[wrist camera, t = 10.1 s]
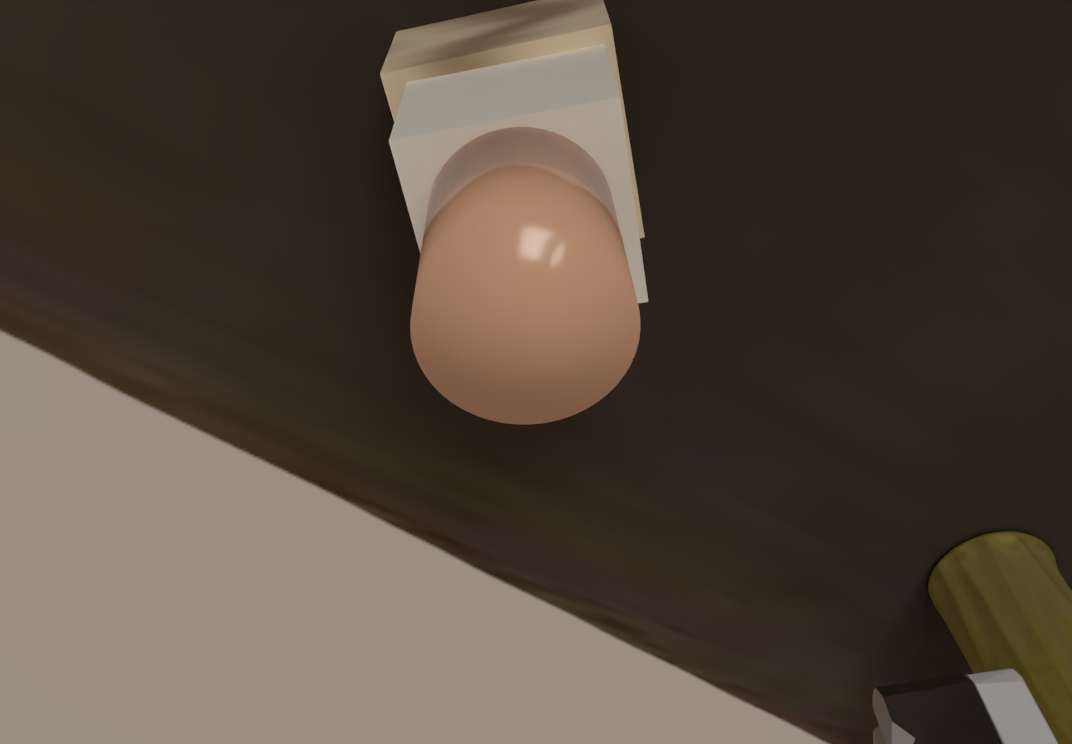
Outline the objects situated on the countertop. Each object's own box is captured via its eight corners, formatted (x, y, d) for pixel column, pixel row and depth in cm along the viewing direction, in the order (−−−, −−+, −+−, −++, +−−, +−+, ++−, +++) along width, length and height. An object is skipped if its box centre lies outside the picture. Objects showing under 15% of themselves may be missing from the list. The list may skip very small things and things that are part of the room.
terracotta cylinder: (601, 111, 24) (626, 208, 19) (623, 283, 27) (651, 406, 22) (408, 145, 25) (384, 248, 20) (449, 311, 27) (438, 439, 22)
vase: (901, 581, 48) (1029, 860, 36) (1003, 508, 45) (1177, 783, 33) (976, 632, 50) (1120, 911, 38) (1077, 565, 48) (1265, 842, 36)
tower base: (598, -14, 32) (611, 23, 28) (629, 179, 36) (644, 237, 32) (396, 30, 33) (379, 74, 29) (448, 215, 37) (440, 277, 32)
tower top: (604, 43, 28) (619, 96, 24) (630, 226, 32) (648, 301, 27) (406, 82, 29) (388, 141, 25) (452, 258, 32) (443, 336, 28)
